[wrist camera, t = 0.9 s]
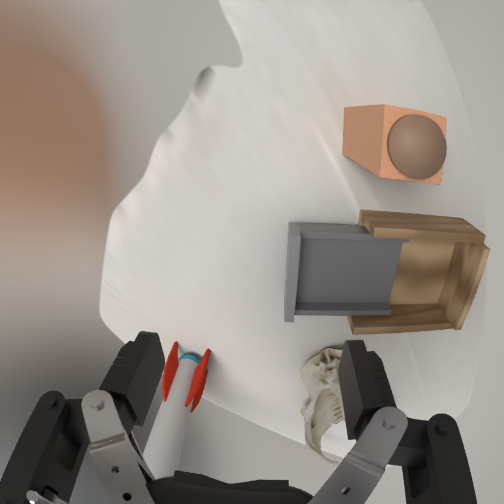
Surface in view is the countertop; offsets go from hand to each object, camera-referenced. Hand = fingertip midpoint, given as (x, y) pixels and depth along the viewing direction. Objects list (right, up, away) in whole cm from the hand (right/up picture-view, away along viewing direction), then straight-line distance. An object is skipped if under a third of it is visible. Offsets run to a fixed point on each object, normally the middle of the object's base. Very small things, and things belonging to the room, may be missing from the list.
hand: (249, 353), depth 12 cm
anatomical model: (+15, -19, +33) cm, 41 cm away
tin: (+12, +17, +16) cm, 26 cm away
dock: (+19, +3, +22) cm, 29 cm away
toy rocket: (-9, -12, +31) cm, 34 cm away
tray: (+10, +3, +21) cm, 24 cm away
